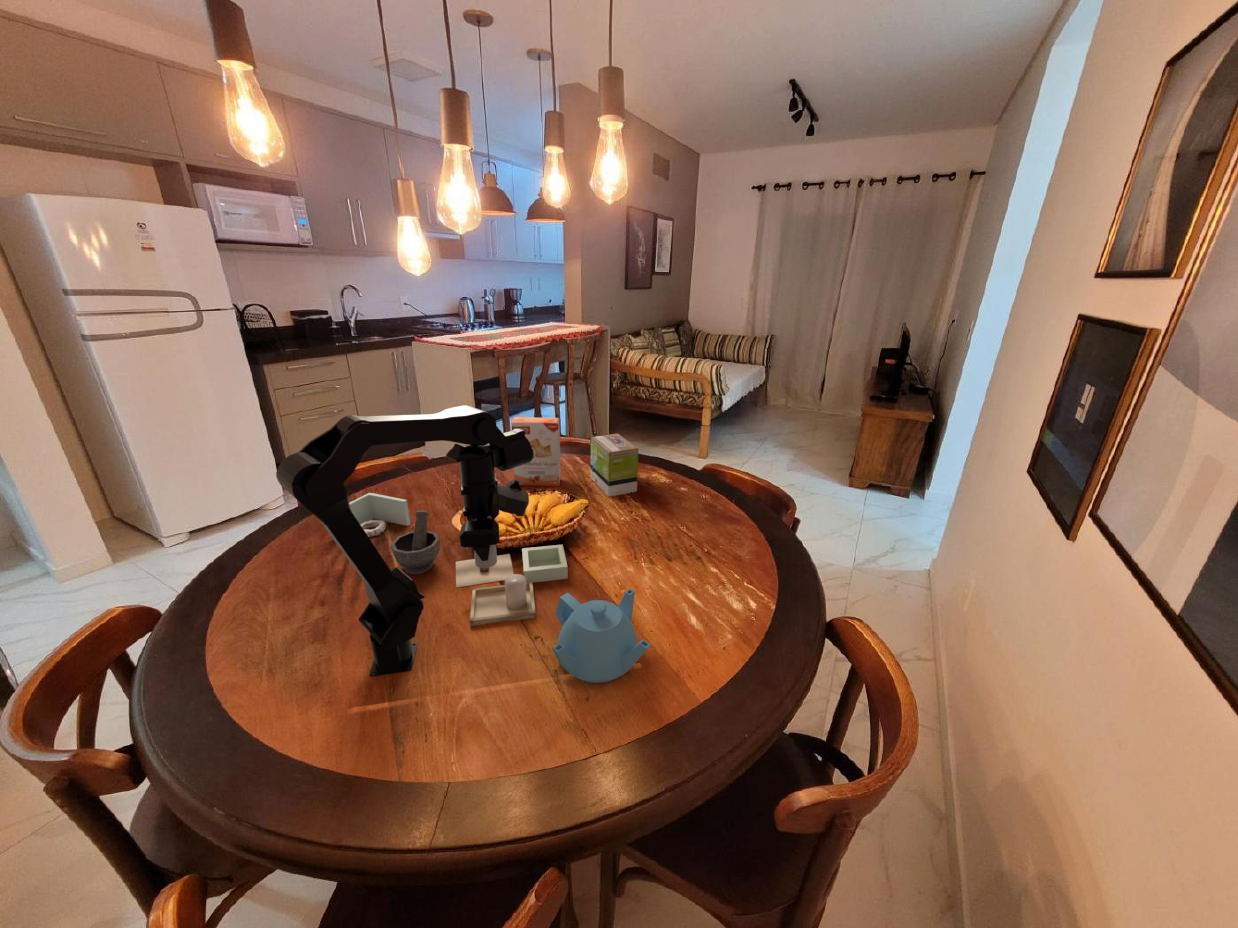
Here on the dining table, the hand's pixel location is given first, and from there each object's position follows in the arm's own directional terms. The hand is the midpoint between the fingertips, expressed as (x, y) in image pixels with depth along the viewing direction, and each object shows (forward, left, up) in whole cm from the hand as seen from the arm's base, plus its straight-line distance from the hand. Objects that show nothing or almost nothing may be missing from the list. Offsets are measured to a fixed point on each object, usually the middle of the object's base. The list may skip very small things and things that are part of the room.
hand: (485, 554), depth 90 cm
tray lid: (+13, +2, -12) cm, 18 cm away
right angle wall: (+37, +29, -13) cm, 49 cm away
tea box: (+54, -36, -13) cm, 66 cm away
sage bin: (+11, -11, -12) cm, 20 cm away
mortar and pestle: (+18, +16, -13) cm, 27 cm away
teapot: (-17, -18, -13) cm, 28 cm away
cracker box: (+60, -13, -13) cm, 63 cm away
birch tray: (0, -2, -12) cm, 13 cm away
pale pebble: (0, -5, -12) cm, 13 cm away
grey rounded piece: (0, 0, -2) cm, 2 cm away
